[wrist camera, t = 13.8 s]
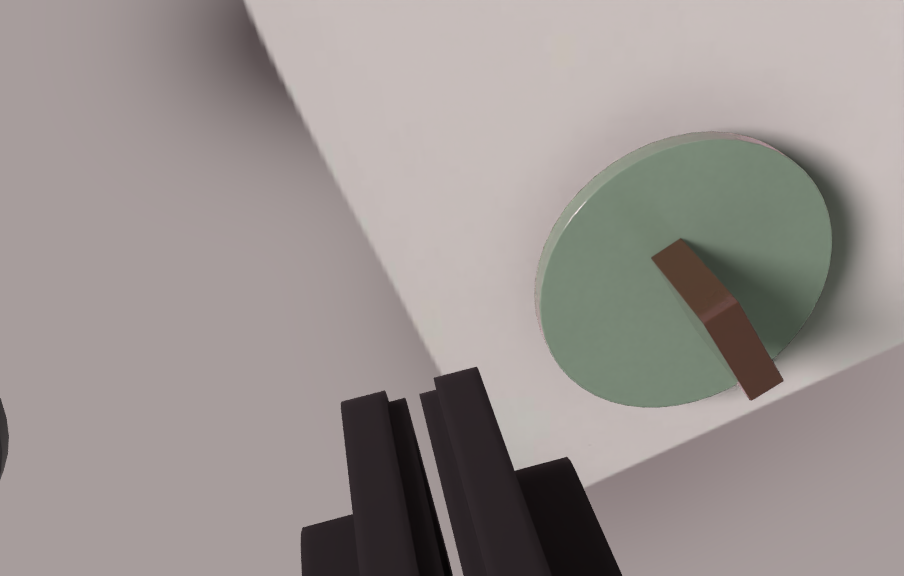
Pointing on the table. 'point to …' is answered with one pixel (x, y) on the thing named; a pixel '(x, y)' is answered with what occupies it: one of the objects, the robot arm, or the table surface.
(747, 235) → the turntable plate
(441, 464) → the robot arm
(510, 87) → the table surface
